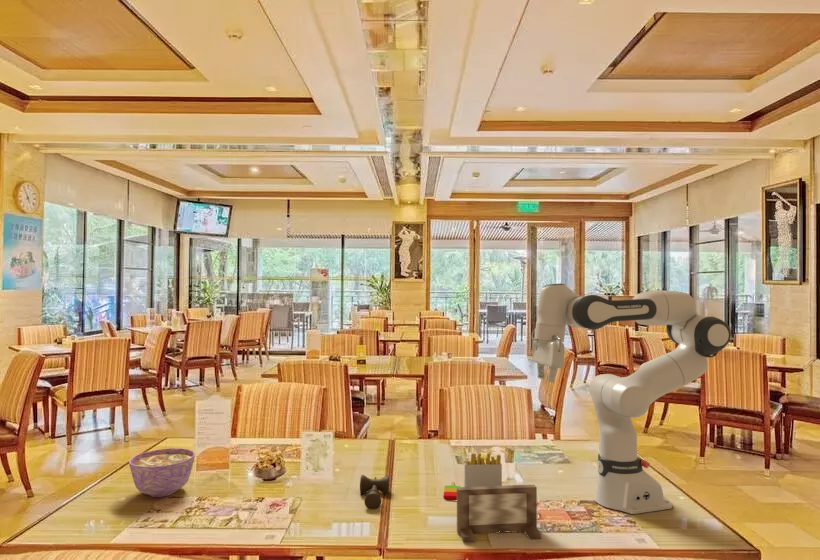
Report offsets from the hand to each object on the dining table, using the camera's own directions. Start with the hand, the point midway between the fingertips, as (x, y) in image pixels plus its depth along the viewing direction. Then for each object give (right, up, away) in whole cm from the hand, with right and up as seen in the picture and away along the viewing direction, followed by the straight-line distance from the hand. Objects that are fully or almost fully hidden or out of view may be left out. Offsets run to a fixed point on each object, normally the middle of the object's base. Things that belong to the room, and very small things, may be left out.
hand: (545, 380), depth 167 cm
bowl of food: (-123, -39, +12) cm, 130 cm away
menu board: (-17, -38, -19) cm, 46 cm away
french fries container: (-20, -39, -4) cm, 44 cm away
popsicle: (-28, -40, +12) cm, 50 cm away
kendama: (-53, -39, +8) cm, 67 cm away
